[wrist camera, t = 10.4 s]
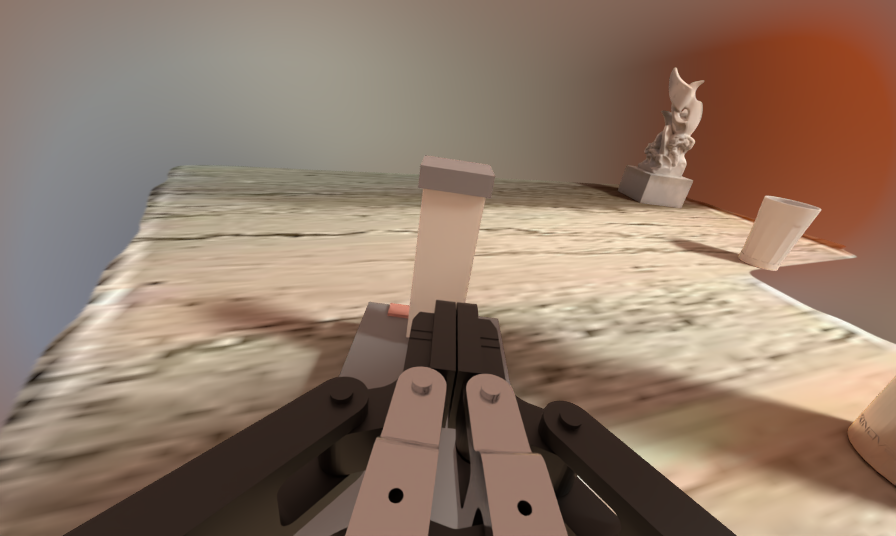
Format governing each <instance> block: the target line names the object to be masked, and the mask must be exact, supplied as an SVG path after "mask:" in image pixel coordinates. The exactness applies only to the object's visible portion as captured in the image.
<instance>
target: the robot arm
mask: <svg viewBox="0 0 896 536" xmlns="http://www.w3.org/2000/svg"><path fill="white" fill-rule="evenodd" d="M447 416H448V428H451V429H456V440H455V445H454V449H453V460H454V473H455V487H456V500H457V514H458V526H457V529H453V528H450V527H447V526H444V525H442V524H439V523H437V522H434V521H432V520H430V516H431V508H432V500H433V493H434V485H435V477H436V470H437V462H438V454H439V442H440V436H441V430H442V428H445V427H446V422H447ZM847 434H848V437H849V440H850V442H851V443H852V445H853V447H854V448H855V449H856V451H857V452H858V453H859V454H860V455H861V456H862V457H863V459H864V460H866V461H867V462H868V463H869V464H870V465H871V466H872V467H873V468H874V469H875V470H876V471H877V472H879V473H880V474H881V475H883V476H884V477H885V478H886V479H888V480H889V481H890V482H891V483H893V484H894V485H896V376H895V377H894V378H893V379H892V380H891V382H890V383H889V384H888V385H887V386H886V387H885V388H884V389H883V390H882V391H881V393H880V394H879V395H878V396H877V397H876V398H875V399H874V400H873V401H872V402H871V403H870V405H869V406H868V407H867V408H866V409H865V410H864V411H863V412H862V413H861V414H860V416H859V417H858V418H857V419H856V420H855V421H854V422H853V423H852V424H851V426H850V427H849V428H848V432H847ZM365 470H366V471H365ZM364 471H365V474H364V477H363V481H362V484H361V487H360V490H359V493H358V497H357V500H356V503H355V506H354V509H353V513H352V516H351V519H350V522H349V525H348V527H347V528H344V529H342V530H340V531H338V532H336V533H334V534H332V535H330V536H737V535H735V534H734V533H733V532H732V531H730V530H729V529H728V528H727V527H726V526H724V525H723V524H722V523H721V522H720V521H718V520H717V519H716V518H715V517H713V516H712V515H711V514H710V513H709V512H707V511H706V510H705V509H704V508H702V507H701V506H700V505H699V504H698V503H696V502H695V501H694V500H693V499H692V498H690V497H689V496H688V495H687V494H685V493H684V492H683V491H682V490H681V489H679V488H678V487H677V486H676V485H675V484H673V483H672V482H671V481H670V480H668V479H667V478H666V477H665V476H664V475H662V474H661V473H660V472H659V471H657V470H656V469H655V468H654V467H653V466H651V465H650V464H649V463H648V462H647V461H645V460H644V459H643V458H642V457H640V456H639V455H638V454H637V453H636V452H634V451H633V450H632V449H631V448H629V447H628V446H627V445H626V444H625V443H623V442H622V441H621V440H620V439H619V438H617V437H616V436H615V435H614V434H612V433H611V432H610V431H609V430H608V429H606V428H605V427H604V426H603V425H601V424H600V423H599V422H598V421H597V420H595V419H594V418H593V417H592V416H591V415H589V414H588V413H587V412H586V411H584V410H583V409H582V408H580V407H579V406H577V405H575V404H573V403H570V402H566V401H554V402H551V403H549V404H548V405H547V406H546V407H545V409H542V408H540V407H537V406H534V405H532V404H529V403H527V402H525V401H523V400H521V399H520V398H518V397H517V396H516V395H515V393H514V391H513V389H512V387H511V386H510V384H509V383H508V382H506V379H505V373H504V367H503V361H502V355H501V350H500V343H499V337H498V331H497V328H496V327H495V326H494V324H493V323H492V322H491V320H488V319H480V318H478V308H477V304H469V303H461V302H457V304H456V302H452V301H444V300H436V303H435V310H434V313H428V312H419V313H418V314H417V315H416V316H415V317H414V318H413V320H412V325H411V331H410V336H409V341H408V347H407V352H406V358H405V363H404V369H403V372H402V374H401V375H400V376H399V378H398V379H397V380H396V381H394V382H393V383H391V384H389V385H386V386H383V387H378V388H372V389H368V388H367V387H366V385H365V384H364V383H363V382H362V381H360V380H358V379H356V378H353V377H337V378H333V379H330V380H328V381H326V382H324V383H323V384H321V385H319V386H317V387H316V388H314V389H312V390H311V391H309V392H307V393H305V394H304V395H302V396H300V397H299V398H297V399H295V400H294V401H292V402H290V403H288V404H287V405H285V406H283V407H282V408H280V409H278V410H276V411H275V412H273V413H271V414H270V415H268V416H266V417H264V418H263V419H261V420H259V421H258V422H256V423H254V424H253V425H251V426H249V427H247V428H246V429H244V430H242V431H241V432H239V433H237V434H235V435H234V436H232V437H230V438H229V439H227V440H225V441H224V442H222V443H220V444H218V445H217V446H215V447H213V448H212V449H210V450H208V451H206V452H205V453H203V454H201V455H200V456H198V457H196V458H195V459H193V460H191V461H189V462H188V463H186V464H184V465H183V466H181V467H179V468H177V469H176V470H174V471H172V472H171V473H169V474H167V475H165V476H164V477H162V478H160V479H159V480H157V481H155V482H154V483H152V484H150V485H148V486H147V487H145V488H143V489H142V490H140V491H138V492H136V493H135V494H133V495H131V496H130V497H128V498H126V499H125V500H123V501H121V502H119V503H118V504H116V505H114V506H113V507H111V508H109V509H107V510H106V511H104V512H102V513H101V514H99V515H97V516H96V517H94V518H92V519H90V520H89V521H87V522H85V523H84V524H82V525H80V526H78V527H77V528H75V529H73V530H72V531H70V532H68V533H66V534H65V535H63V536H293V535H295V534H296V533H297V532H298V531H299V530H300V529H301V528H303V527H304V526H305V525H306V524H307V523H308V522H309V521H311V520H312V519H313V518H314V517H315V516H316V515H318V514H319V513H320V512H321V511H322V510H323V509H324V508H326V507H327V506H328V505H329V504H330V503H331V502H332V501H334V500H335V499H336V498H337V497H338V496H339V495H340V494H342V493H343V492H344V491H345V490H346V489H347V488H348V487H350V486H351V485H352V484H353V483H354V482H355V481H356V480H357V479H358V478H359V477H360V476H361V475H362V474H363V472H364ZM577 475H578V476H579V477H580V478H581V479H582V480H583V481H584V482H585V483H586V484H587V485H588V486H589V487H590V488H591V489H592V490H593V491H594V492H595V493H596V494H597V495H598V496H599V497H600V498H601V499H602V500H604V501H605V502H606V503H607V504H608V505H609V506H610V507H611V508H612V509H613V511H614V512H615V513H616V514H614V513H613V512H612V511H611V510H610V509H609V508H608V507H607V506H606V505H605V504H604V503H603V502H602V501H601V500H600V499H599V498H598V497H597V496H596V495H595V494H594V493H593V492H592V491H591V490H590V489H589V488H588V487H587V486H586V485H585V484H584V483H583V482H582V481H581V480H580V479H579V478H578V477H577Z"/></svg>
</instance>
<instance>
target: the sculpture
mask: <svg viewBox="0 0 896 536" xmlns="http://www.w3.org/2000/svg"><path fill="white" fill-rule="evenodd" d="M669 81H670V82H669V95H670V99H671V101H672V107H671V111H672V113H670V112H668V111H661V112H662V114H663V116H664V118H665V127H664V130H663V131H662V132H661V133H659V134H658V135H657V137H656V139H655V141H654V142H653V143H649V144H648V147H646V149H645V154H647V158H646V160H644V161H643V162H642V163H639V164H638V167H636V166H630V165H627V166H626V169H625V172H624V174H623V177H622V180H621V183H620V186H619V188H618V191H619V192H621V193H623V194H625V195H626V196H628V197H630V198H632V199H634V200H636V201H638V202H639V203H646V204H654V205H661V206H669V207H677V208H681V207H682V205H683V203H684V200H685V198H686V196H687V194H688V191H689V189H690V187H691V185H692V182H693V180H690V179H687V178H684V177H682V174H683V172H684V169H685V167H686V160H685V158H684V154H685V153H686V152H687V150H690V149H691V148H692V146H693V145H694V143H695V140H694V139H693V138H691V137H690V135H691V134H692V133H693V131H694V130H695V128H696V127H697V125H698V123H699V121H700V120H701V116H702V110H703V108H702V102H699V101H697V99H696V97H695V91H696V89H697V88H698V87H699V86H700V85H701V84H702V83H703V82H704V81H703V80H702V81H697V82H693V83H691V84H689V85H688V84H686V83H685V82H684V81H683V80H682V79H681V78H680V76H679V74H678V71H677V68H674V69H673V71H672V73H671V76H670V80H669ZM683 108H685V109H684V111H682V112H681V110H682V109H683Z"/></svg>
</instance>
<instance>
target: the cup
mask: <svg viewBox="0 0 896 536" xmlns="http://www.w3.org/2000/svg"><path fill="white" fill-rule="evenodd" d="M820 211H821V209H820V208H818V207H815V206H812V205H809V204H805V203H802V202H798V201H794V200H789V199H784V198H779V197H773V196H765V197H764V200H763V202H762V205H761V207H760V209H759V212H758V216H757V218H756V220H755V222H754V224H753V227H752V229H751V231H750V233H749V236H748V238H747V240H746V242H745V245H744V247H743V249H742V251H741V252H740V254H739V256H738V258H739V259H740V260H741V261H743V262H745V263H747V264H750V265H752V266H755V267H758V268H762V269H766V270H773V271H775V270H778V268H779V266H780V265H781V263H782V262H783V260H784V259H785V258H786V256H787V255H788V254H789V252H790V251H791V249H792V248H793V247H794V245H795V244H796V243H797V241H798V240H799V239H800V237H801V236H802V235H803V233H804V232H805V231H806V229H807V228H808V227H809V225H810V224H811V223H812V221H813V220H814V219H815V218H816V216H817V215H818V214H819V212H820Z"/></svg>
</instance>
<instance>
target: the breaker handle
mask: <svg viewBox="0 0 896 536" xmlns="http://www.w3.org/2000/svg"><path fill="white" fill-rule="evenodd" d="M494 179H495V175H494V173H493V170H492V168H491V166H490V165H486V164H479V163H473V162H466V161H460V160H453V159H446V158H440V157H433V156H427V155H425V156H424V159H423V161H422V163H421V166H420V175H419V185H418V188H423V194H422V203H421V212H420V221H419V229H418V238H417V247H416V255H415V264H414V273H413V282H412V290H411V299H410V308H409V317H408V325H407V334H406V337H409V336H410V331H411V325H412V320H413V318H414V317H415V316H416V315H417V314H418V313H419V312H428V313H434V310H435V303H436V300H444V301H452V302H456V304H457V302H461V303H465V301H466V295H467V290H468V285H469V280H470V275H471V270H472V264H473V259H474V254H475V249H476V244H477V239H478V233H479V228H480V223H481V218H482V213H483V208H484V202H485V198H491V194H492V189H493V184H494Z"/></svg>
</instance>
